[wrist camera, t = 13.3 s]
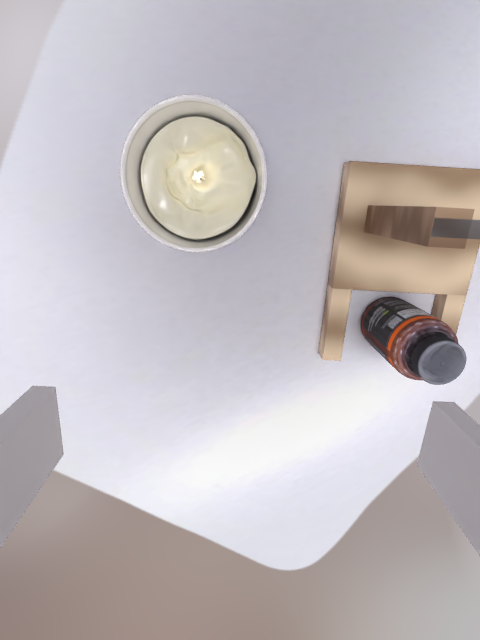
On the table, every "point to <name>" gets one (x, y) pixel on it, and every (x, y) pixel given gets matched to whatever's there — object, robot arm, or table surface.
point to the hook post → (423, 225)
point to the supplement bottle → (413, 341)
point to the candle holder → (193, 173)
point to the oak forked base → (397, 243)
